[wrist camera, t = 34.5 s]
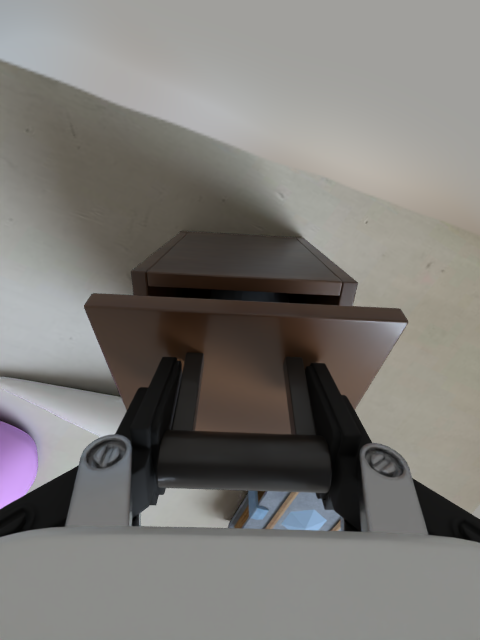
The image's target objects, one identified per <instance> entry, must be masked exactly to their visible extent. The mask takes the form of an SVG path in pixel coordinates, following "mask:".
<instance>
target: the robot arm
mask: <svg viewBox="0 0 480 640" xmlns="http://www.w3.org/2000/svg"><path fill="white" fill-rule="evenodd" d="M305 375H306V381H307V386H308V391H309V396H310V402H311V407H312V412H313V418H314V423H315V428H316V433H317V435H321V436H323V437H324V438H325V440H326V442H327V444H328V447H329V451H330V455H331V462H332V482H331V487H330V490H329V491H328V492H327V493H316V497H317V498H318V499H322V502H323V506H324V509H325V510H334V511H335V512H336V513H337V514H339V515H340V516H341V517H340V528H341V531H317V530H281V529H241V528H197V527H145V526H141V512H142V511H143V510H145V509H146V508H147V507H149V505H156V503H157V499H158V496H159V495H163V494H164V493H165V489H166V488H160V487H158V486H157V481H156V464H157V456H158V450H159V446H160V442H161V438H162V436H163V434H164V432H165V431H166V430H171V427H172V422H173V417H174V412H175V407H176V402H177V397H178V392H179V387H180V382H181V377H182V363H181V361H177V358H176V357H162V359H161V361H160V363H159V365H158V368H157V370H156V372H155V374H154V376H153V378H152V381H151V383H150V385H149V387H140V388H139V389H138V390H137V392H136V394H135V396H134V398H133V400H132V402H131V404H130V406H129V408H128V410H127V411H126V413H125V415H124V417H123V419H122V421H121V423H120V425H119V427H118V429H117V431H116V433H115V434H113V435H107V436H103V437H100V438H98V439H96V440H94V441H93V442H92V443H91V444H89V445H88V446H87V447H86V448H85V450H84V451H83V453H82V455H81V458H80V462H79V466H77V467H75V468H73V469H72V470H70V471H68V472H66V473H64V474H62V475H61V476H59V477H57V478H55V479H53V480H52V481H50V482H48V483H46V484H44V485H42V486H41V487H39V488H37V489H35V490H33V491H32V492H30V493H28V494H26V495H24V496H22V497H21V498H19V499H17V500H15V501H13V502H12V503H10V504H8V505H6V506H4V507H3V508H1V509H0V640H480V519H478V518H477V517H475V516H473V515H472V514H470V513H468V512H467V511H465V510H463V509H462V508H460V507H459V506H457V505H455V504H454V503H452V502H450V501H449V500H447V499H445V498H444V497H442V496H441V495H439V494H437V493H436V492H434V491H432V490H431V489H429V488H427V487H426V486H424V485H423V484H421V483H419V482H418V481H416V480H414V479H413V478H412V476H411V473H410V469H409V466H408V464H407V462H406V461H405V459H404V458H403V457H402V456H401V455H400V454H399V453H397V452H396V451H395V450H393V449H391V448H390V447H388V446H385V445H382V444H377V443H372V442H371V440H370V438H369V436H368V434H367V433H366V431H365V429H364V427H363V425H362V423H361V421H360V420H359V418H358V416H357V414H356V412H355V410H354V408H353V407H352V405H351V403H350V401H349V399H348V398H347V396H345V395H341V393H340V391H339V390H338V388H337V386H336V384H335V382H334V380H333V378H332V376H331V374H330V372H329V370H328V368H327V366H326V364H325V363H311V364H310V366H306V368H305Z"/></svg>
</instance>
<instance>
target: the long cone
mask: <svg viewBox="0 0 480 640" xmlns="http://www.w3.org/2000/svg"><path fill="white" fill-rule="evenodd" d="M0 388H1V389H3V390H5V391H7V392H9V393H11V394H13V395H15V396H17V397H19V398H22V399H24V400H26V401H28V402H30V403H32V404H34V405H36V406H38V407H41V408H43V409H45V410H47V411H49V412H51V413H53V414H54V415H55V416H57V417H59V418H61V419H64V420H66V421H68V422H70V423H72V424H74V425H76V426H78V427H80V428H82V429H84V430H87V431H89V432H91V433H93V434H95V435H97V436H99V437H103V436H107V435H113V434H115V433H116V431H117V429H118V427H119V425H120V423H121V421H122V419H123V417H124V415H125V413H126V408H125V406H124V403H123V401H122V398H121V397H119V396H113V395H107V394H101V393H96V392H90V391H85V390H79V389H73V388H68V387H62V386H57V385H51V384H46V383H40V382H34V381H29V380H23V379H16V378H10V377H0Z"/></svg>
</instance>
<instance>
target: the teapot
mask: <svg viewBox="0 0 480 640" xmlns="http://www.w3.org/2000/svg"><path fill="white" fill-rule="evenodd" d="M37 467H38V455H37V447H36V444H35V442H34V440H33V439H32V438H31V437H30V436H29V435H28V434H27V433H26V432H24V431H22V430H20V429H18V428H16V427H14V426H12V425H9V424H7V423H4V422H2V421H0V509H1V508H3V507H4V506H6V505H8V504H10V503H12V502H13V501H15V500H17V499H19V498H21V497H22V496H24V495H25V494H26V492H27V491H28V490H29V488H30V487H31V486H32V484H33V482H34V480H35V477H36V474H37Z"/></svg>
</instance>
